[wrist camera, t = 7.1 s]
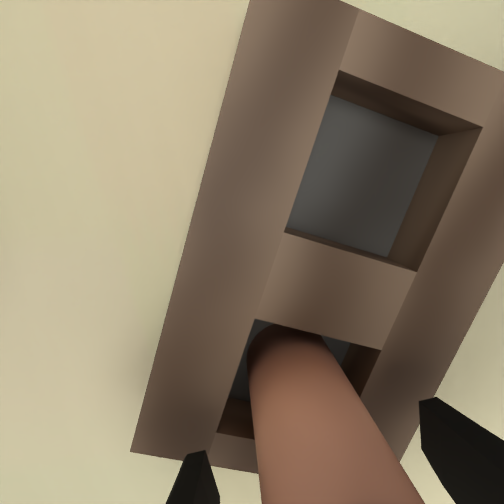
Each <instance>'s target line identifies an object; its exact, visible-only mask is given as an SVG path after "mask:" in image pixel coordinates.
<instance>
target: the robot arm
mask: <svg viewBox="0 0 504 504" xmlns="http://www.w3.org/2000/svg"><path fill="white" fill-rule="evenodd" d="M419 417H420V433H421V449H422V451H423V452H424V454H425V456H426V458H427V459H428V461H429V463H430V465H431V466H432V468H433V470H434V471H435V473H436V475H437V476H438V478H439V480H440V481H441V483H442V485H443V486H444V488H445V489H446V491H447V492H448V493H449V495H450V496H451V498H452V499H453V500H454V502H455V503H456V504H504V440H502V439H500V438H499V437H497V436H496V435H494V434H492V433H491V432H489V431H488V430H486V429H485V428H483V427H482V426H480V425H478V424H477V423H475V422H474V421H472V420H471V419H469V418H468V417H466V416H465V415H463V414H462V413H460V412H459V411H457V410H456V409H454V408H452V407H451V406H449V405H448V404H446V403H445V402H443V401H442V400H440V399H439V398H437V397H434V398H430V399H425V400H421V401H419ZM166 504H220V495H219V492H218V489H217V486H216V482H215V479H214V476H213V473H212V469H211V466H210V463H209V460H208V456H207V453H206V450H203V451H198V452H194V453H190V454H187V455H186V456H185V458H184V461H183V463H182V466H181V468H180V471H179V473H178V476H177V478H176V481H175V483H174V485H173V488H172V490H171V492H170V495H169V497H168V499H167V502H166Z"/></svg>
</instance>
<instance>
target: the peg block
mask: <svg viewBox="0 0 504 504" xmlns="http://www.w3.org/2000/svg"><path fill="white" fill-rule="evenodd" d="M503 262H504V72H503V71H501V70H498V69H496V68H494V67H492V66H489V65H487V64H485V63H482V62H480V61H478V60H476V59H473V58H471V57H469V56H466V55H464V54H462V53H459V52H457V51H455V50H453V49H450V48H448V47H446V46H443V45H441V44H439V43H437V42H434V41H432V40H430V39H427V38H425V37H423V36H420V35H418V34H416V33H414V32H411V31H409V30H407V29H404V28H402V27H400V26H398V25H395V24H393V23H391V22H388V21H386V20H384V19H381V18H379V17H377V16H375V15H372V14H370V13H368V12H365V11H363V10H361V9H359V8H356V7H354V6H352V5H349V4H347V3H345V2H342V1H340V0H250V2H249V5H248V9H247V13H246V17H245V20H244V24H243V28H242V32H241V35H240V39H239V43H238V47H237V51H236V54H235V58H234V62H233V66H232V69H231V73H230V77H229V81H228V84H227V88H226V92H225V96H224V99H223V103H222V107H221V111H220V114H219V118H218V122H217V126H216V130H215V133H214V137H213V141H212V145H211V148H210V152H209V156H208V160H207V163H206V167H205V171H204V175H203V178H202V182H201V186H200V190H199V193H198V197H197V201H196V205H195V209H194V212H193V216H192V220H191V224H190V227H189V231H188V235H187V239H186V242H185V246H184V250H183V254H182V257H181V261H180V265H179V269H178V272H177V276H176V280H175V284H174V288H173V291H172V295H171V299H170V303H169V306H168V310H167V314H166V318H165V321H164V325H163V329H162V333H161V336H160V340H159V344H158V348H157V351H156V355H155V359H154V363H153V367H152V370H151V374H150V378H149V382H148V385H147V389H146V393H145V397H144V400H143V404H142V408H141V412H140V415H139V419H138V423H137V427H136V431H135V434H134V438H133V442H132V446H131V449H130V452H134V453H140V454H146V455H151V456H157V457H163V458H169V459H175V460H181V461H184V458H185V456H186V455H187V454H190V453H194V452H198V451H203V450H206V453H207V456H208V460H209V463H210V466H216V467H222V468H228V469H233V470H239V471H245V472H251V473H257V474H259V472H258V463H257V454H256V445H255V436H254V427H253V418H252V409H251V400H250V391H249V382H248V373H247V364H246V357H247V351H248V348H249V346H250V344H251V342H252V340H253V339H254V338H255V336H256V335H257V334H258V333H259V332H261V331H262V330H263V329H264V328H266V327H268V326H270V325H272V324H274V323H275V324H279V325H283V326H287V327H291V328H295V329H299V330H303V331H307V332H311V333H315V334H319V335H321V336H322V338H323V340H324V341H325V343H326V344H327V346H328V348H329V349H330V351H331V353H332V354H333V356H334V357H335V359H336V361H337V362H338V364H339V365H340V367H341V369H342V370H343V372H344V374H345V375H346V377H347V378H348V380H349V382H350V383H351V385H352V386H353V388H354V390H355V391H356V393H357V395H358V396H359V398H360V399H361V401H362V403H363V404H364V406H365V407H366V409H367V411H368V412H369V414H370V416H371V417H372V419H373V420H374V422H375V424H376V425H377V427H378V428H379V430H380V432H381V433H382V435H383V437H384V438H385V440H386V441H387V443H388V445H389V446H390V448H391V449H392V451H393V453H394V454H395V456H396V458H397V459H398V461H399V462H400V460H401V458H402V456H403V454H404V453H405V451H406V449H407V447H408V445H409V443H410V441H411V439H412V437H413V435H414V433H415V431H416V429H417V428H418V426H419V424H420V417H419V401H421V400H425V399H430V398H433V397H434V395H435V393H436V391H437V389H438V387H439V385H440V383H441V381H442V379H443V378H444V376H445V374H446V372H447V370H448V368H449V366H450V364H451V362H452V360H453V358H454V356H455V354H456V353H457V351H458V349H459V347H460V345H461V343H462V341H463V339H464V337H465V335H466V333H467V331H468V329H469V328H470V326H471V324H472V322H473V320H474V318H475V316H476V314H477V312H478V310H479V308H480V306H481V304H482V303H483V301H484V299H485V297H486V295H487V293H488V291H489V289H490V287H491V285H492V283H493V281H494V279H495V278H496V276H497V274H498V272H499V270H500V268H501V266H502V264H503Z"/></svg>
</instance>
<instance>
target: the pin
mask: <svg viewBox="0 0 504 504" xmlns="http://www.w3.org/2000/svg"><path fill="white" fill-rule="evenodd" d="M246 364H247V373H248V382H249V391H250V400H251V409H252V418H253V427H254V436H255V445H256V454H257V463H258V472H259V481H260V490H261V500H262V504H425V503H424V501H423V500H422V498H421V496H420V495H419V493H418V492H417V490H416V488H415V487H414V485H413V483H412V482H411V480H410V479H409V477H408V475H407V474H406V472H405V471H404V469H403V467H402V466H401V464H400V462H399V461H398V459H397V458H396V456H395V454H394V453H393V451H392V449H391V448H390V446H389V445H388V443H387V441H386V440H385V438H384V437H383V435H382V433H381V432H380V430H379V428H378V427H377V425H376V424H375V422H374V420H373V419H372V417H371V416H370V414H369V412H368V411H367V409H366V407H365V406H364V404H363V403H362V401H361V399H360V398H359V396H358V395H357V393H356V391H355V390H354V388H353V386H352V385H351V383H350V382H349V380H348V378H347V377H346V375H345V374H344V372H343V370H342V369H341V367H340V365H339V364H338V362H337V361H336V359H335V357H334V356H333V354H332V353H331V351H330V349H329V348H328V346H327V344H326V343H325V341H324V340H323V338H322V336H321V335H319V334H315V333H311V332H307V331H303V330H299V329H295V328H291V327H287V326H283V325H279V324H275V323H274V324H272V325H270V326H268V327H266V328H264V329H263V330H262V331H261V332H259V333H258V334H257V335H256V336H255V338H254V339H253V340H252V342H251V344H250V346H249V348H248V351H247V357H246Z"/></svg>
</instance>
